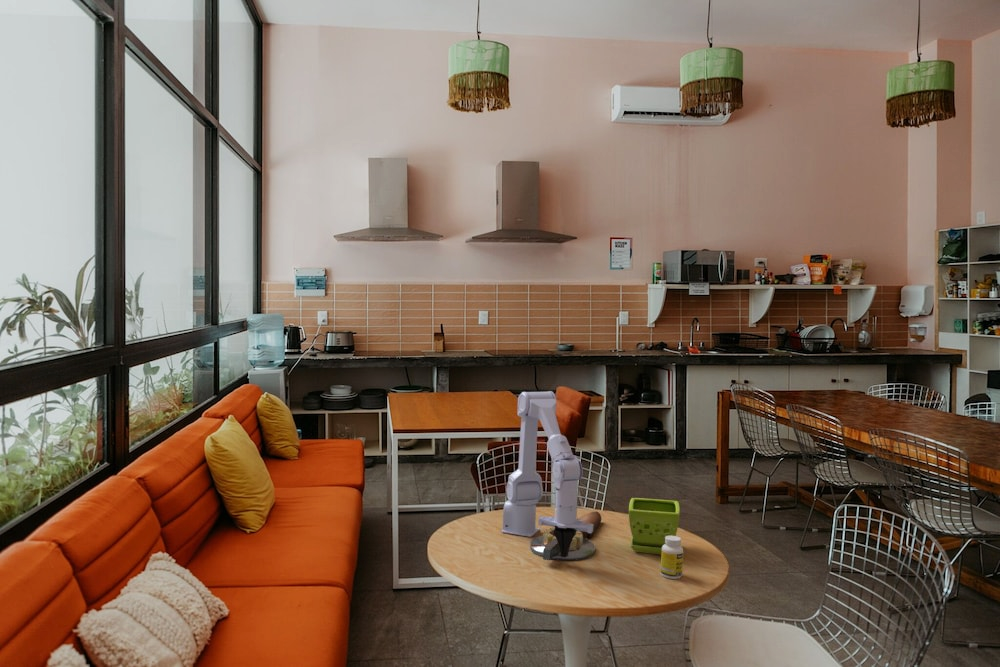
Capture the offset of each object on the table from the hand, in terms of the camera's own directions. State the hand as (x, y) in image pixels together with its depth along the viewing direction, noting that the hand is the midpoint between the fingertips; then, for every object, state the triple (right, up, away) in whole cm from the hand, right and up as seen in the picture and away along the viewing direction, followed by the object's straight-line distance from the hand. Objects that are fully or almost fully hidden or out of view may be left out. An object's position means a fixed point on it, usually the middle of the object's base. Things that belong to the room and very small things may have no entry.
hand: (564, 555), depth 191 cm
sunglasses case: (+8, -2, +30) cm, 31 cm away
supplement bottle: (+27, -4, -5) cm, 28 cm away
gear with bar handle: (-1, 0, +8) cm, 8 cm away
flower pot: (+26, -3, +14) cm, 30 cm away
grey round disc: (0, -2, +12) cm, 12 cm away
